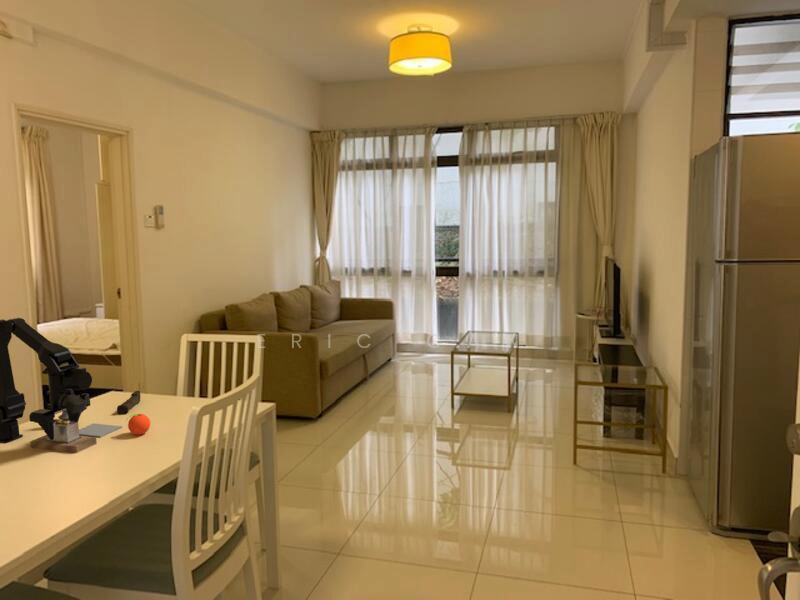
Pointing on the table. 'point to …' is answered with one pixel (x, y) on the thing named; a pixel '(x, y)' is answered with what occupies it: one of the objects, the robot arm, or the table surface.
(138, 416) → the tomato
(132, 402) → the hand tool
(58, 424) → the lever cap
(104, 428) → the rubber mat
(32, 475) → the table surface
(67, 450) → the body
